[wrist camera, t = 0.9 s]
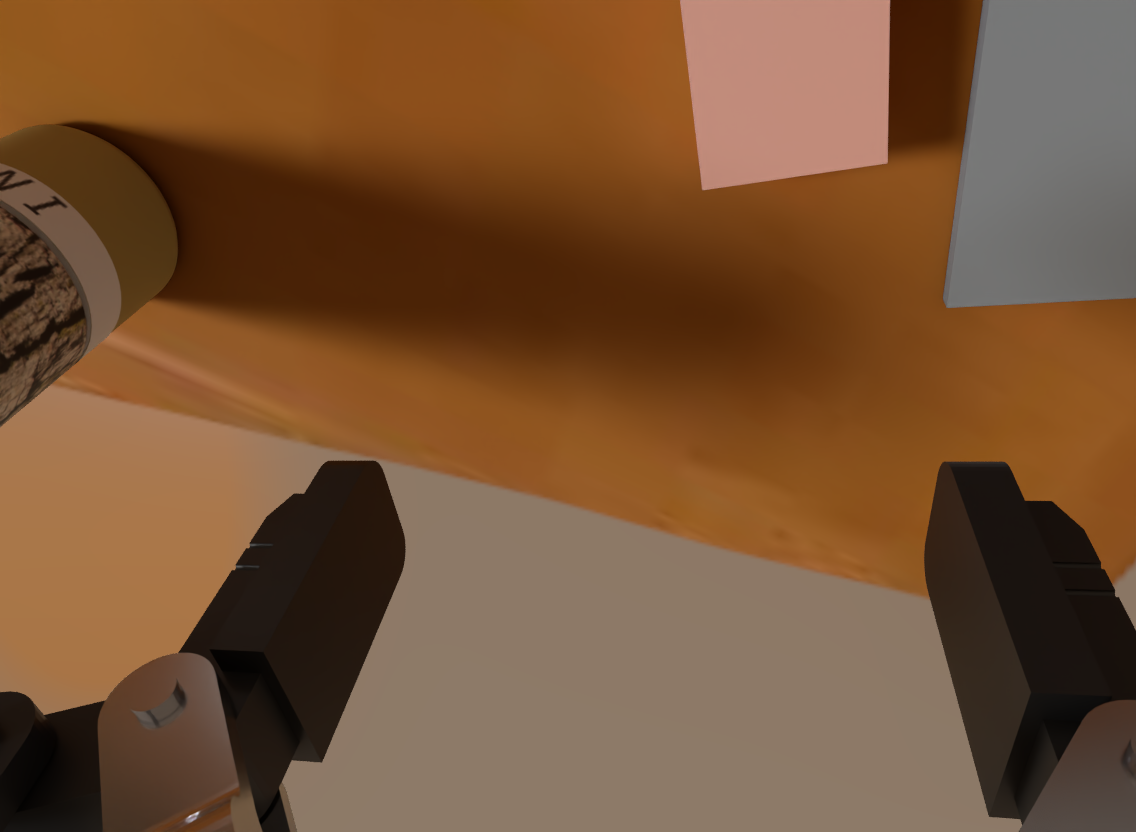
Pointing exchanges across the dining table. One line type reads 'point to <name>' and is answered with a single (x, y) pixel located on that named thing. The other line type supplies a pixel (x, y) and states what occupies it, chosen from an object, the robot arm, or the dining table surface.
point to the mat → (1048, 157)
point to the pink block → (787, 86)
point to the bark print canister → (72, 252)
